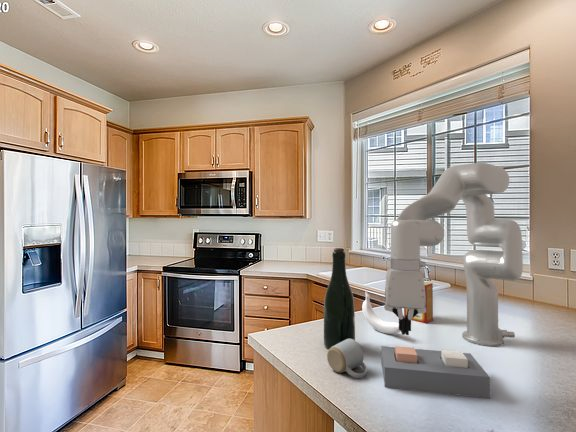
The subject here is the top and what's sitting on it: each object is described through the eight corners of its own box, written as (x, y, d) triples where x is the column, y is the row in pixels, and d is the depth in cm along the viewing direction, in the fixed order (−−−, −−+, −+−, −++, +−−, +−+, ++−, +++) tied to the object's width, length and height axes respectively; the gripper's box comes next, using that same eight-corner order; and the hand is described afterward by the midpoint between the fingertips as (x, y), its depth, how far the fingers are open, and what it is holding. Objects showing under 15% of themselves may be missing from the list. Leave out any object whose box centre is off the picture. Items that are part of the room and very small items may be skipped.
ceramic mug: (324, 368, 92) (325, 341, 92) (343, 360, 97) (343, 335, 97) (354, 383, 84) (354, 354, 84) (373, 373, 89) (373, 346, 89)
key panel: (470, 371, 90) (470, 353, 90) (490, 398, 76) (489, 377, 76) (381, 363, 95) (381, 346, 95) (384, 386, 81) (384, 367, 82)
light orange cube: (414, 365, 89) (414, 347, 89) (417, 373, 84) (417, 355, 84) (395, 363, 90) (395, 346, 90) (397, 371, 85) (397, 353, 85)
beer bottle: (352, 354, 101) (352, 249, 101) (320, 350, 105) (319, 249, 105) (357, 342, 111) (356, 247, 111) (327, 339, 114) (327, 246, 115)
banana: (400, 341, 112) (400, 299, 112) (358, 327, 127) (358, 290, 127) (408, 338, 115) (408, 297, 115) (366, 324, 130) (366, 288, 130)
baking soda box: (404, 318, 138) (403, 281, 138) (411, 315, 143) (411, 279, 143) (426, 323, 131) (425, 284, 131) (432, 320, 136) (432, 282, 136)
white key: (461, 369, 86) (461, 351, 86) (467, 378, 81) (467, 359, 81) (441, 367, 87) (441, 349, 87) (446, 376, 82) (446, 357, 83)
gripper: (431, 264, 89) (431, 331, 89) (375, 262, 93) (375, 326, 92) (437, 268, 82) (437, 340, 82) (377, 266, 85) (376, 335, 85)
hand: (404, 333), depth 87 cm, fingers closed
